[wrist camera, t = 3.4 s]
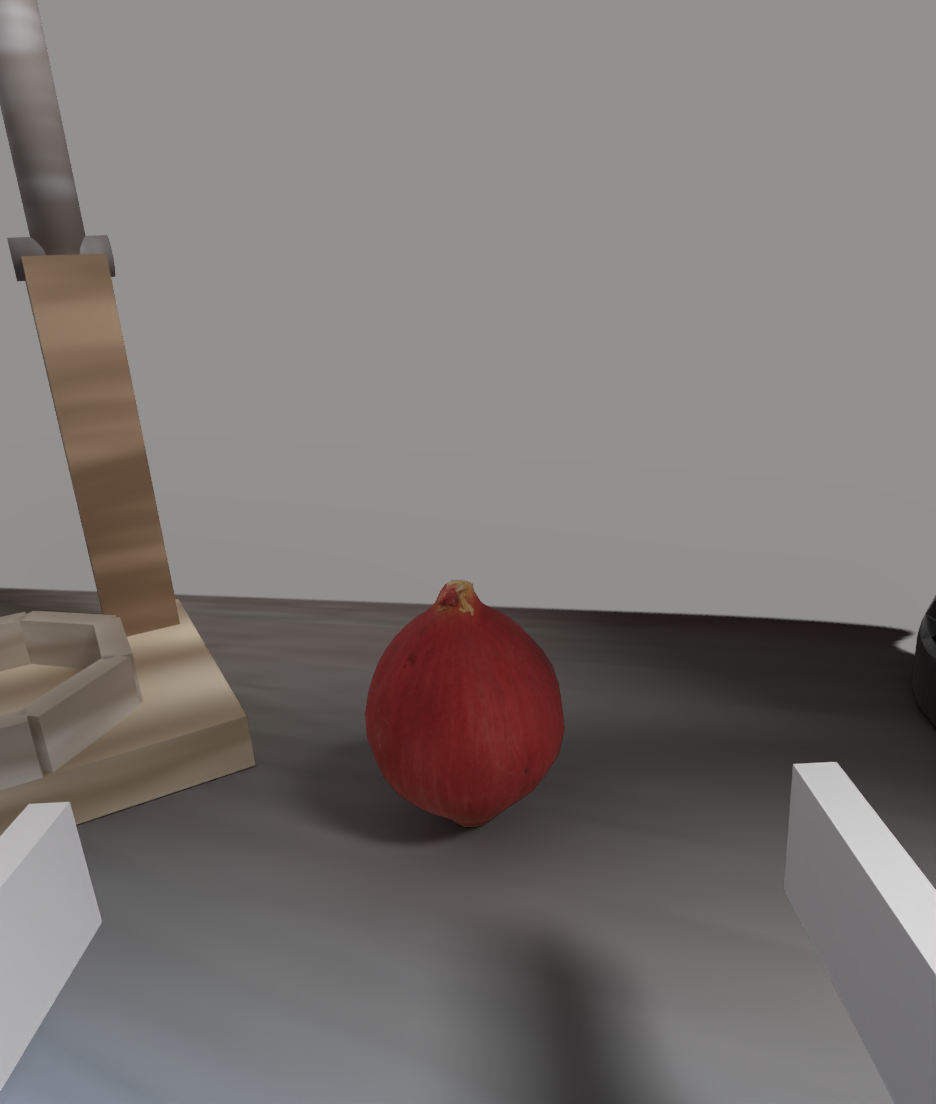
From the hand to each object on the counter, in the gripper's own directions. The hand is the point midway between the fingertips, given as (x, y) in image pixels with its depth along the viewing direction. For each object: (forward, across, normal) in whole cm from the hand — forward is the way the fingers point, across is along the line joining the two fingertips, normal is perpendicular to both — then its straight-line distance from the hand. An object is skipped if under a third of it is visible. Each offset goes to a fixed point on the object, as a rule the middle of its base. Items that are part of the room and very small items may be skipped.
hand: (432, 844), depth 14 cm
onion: (+8, 0, -6) cm, 10 cm away
